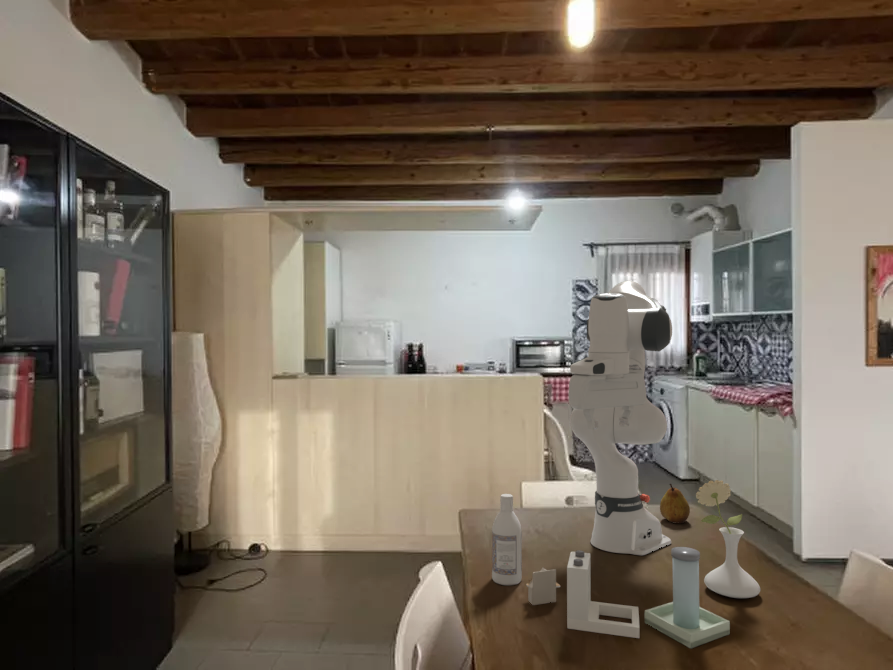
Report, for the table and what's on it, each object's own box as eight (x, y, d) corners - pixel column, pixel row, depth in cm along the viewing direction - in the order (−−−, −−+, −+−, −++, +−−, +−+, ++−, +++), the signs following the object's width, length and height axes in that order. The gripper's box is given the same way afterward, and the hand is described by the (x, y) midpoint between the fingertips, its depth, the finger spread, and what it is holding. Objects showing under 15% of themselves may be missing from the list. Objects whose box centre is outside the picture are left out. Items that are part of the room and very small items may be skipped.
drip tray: (682, 610, 123) (682, 598, 123) (729, 634, 113) (729, 621, 113) (644, 622, 118) (644, 610, 118) (690, 648, 108) (690, 634, 108)
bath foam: (503, 571, 144) (502, 489, 144) (527, 579, 139) (527, 494, 139) (486, 580, 138) (486, 495, 138) (510, 588, 134) (510, 501, 134)
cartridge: (684, 614, 119) (683, 545, 119) (706, 625, 115) (705, 553, 115) (666, 620, 117) (665, 549, 117) (688, 631, 112) (687, 558, 112)
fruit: (681, 516, 188) (681, 478, 188) (695, 525, 179) (695, 485, 179) (655, 516, 187) (655, 479, 187) (667, 525, 178) (667, 486, 178)
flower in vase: (755, 585, 135) (755, 476, 135) (764, 607, 125) (764, 489, 125) (694, 578, 140) (694, 472, 140) (698, 598, 129) (697, 484, 129)
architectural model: (525, 600, 129) (525, 566, 129) (553, 596, 131) (553, 563, 131) (532, 607, 126) (532, 572, 126) (561, 603, 128) (561, 569, 128)
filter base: (638, 616, 120) (638, 554, 120) (639, 638, 112) (639, 571, 112) (571, 608, 124) (570, 547, 124) (567, 628, 116) (567, 563, 116)
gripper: (632, 363, 139) (632, 422, 139) (564, 366, 130) (564, 428, 129) (652, 364, 134) (653, 425, 134) (583, 367, 124) (583, 432, 124)
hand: (608, 427), depth 131 cm, fingers open, 8 cm apart
